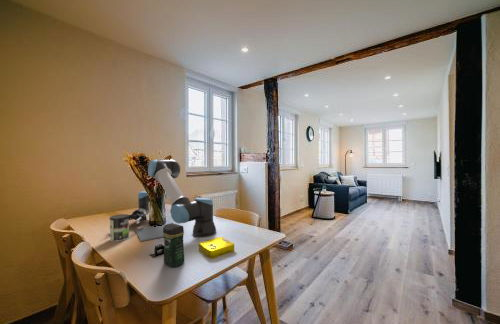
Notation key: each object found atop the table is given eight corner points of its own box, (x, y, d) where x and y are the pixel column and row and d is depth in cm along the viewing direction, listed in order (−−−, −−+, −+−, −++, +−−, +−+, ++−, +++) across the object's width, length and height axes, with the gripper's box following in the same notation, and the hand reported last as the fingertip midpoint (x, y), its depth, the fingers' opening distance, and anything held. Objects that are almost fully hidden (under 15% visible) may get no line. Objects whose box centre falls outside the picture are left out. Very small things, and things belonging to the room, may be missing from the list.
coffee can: (133, 236, 142) (132, 214, 142) (120, 242, 132) (119, 218, 132) (119, 235, 144) (118, 213, 144) (106, 241, 134) (105, 218, 134)
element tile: (235, 251, 117) (235, 243, 117) (210, 260, 108) (210, 250, 108) (221, 243, 129) (221, 235, 129) (197, 250, 120) (197, 241, 120)
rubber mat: (174, 234, 143) (174, 233, 143) (140, 241, 132) (140, 240, 132) (165, 225, 165) (165, 223, 165) (135, 230, 154) (135, 229, 154)
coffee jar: (187, 262, 105) (186, 224, 104) (172, 269, 99) (171, 228, 98) (175, 257, 111) (174, 220, 110) (160, 263, 105) (159, 224, 104)
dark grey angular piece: (167, 248, 123) (167, 240, 123) (174, 252, 118) (173, 243, 118) (144, 256, 114) (144, 247, 114) (150, 260, 109) (150, 251, 109)
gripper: (156, 218, 170) (146, 226, 149) (121, 219, 167) (106, 228, 146) (155, 208, 170) (145, 215, 149) (121, 209, 167) (106, 217, 146)
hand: (126, 222), depth 147 cm, fingers open, 13 cm apart
